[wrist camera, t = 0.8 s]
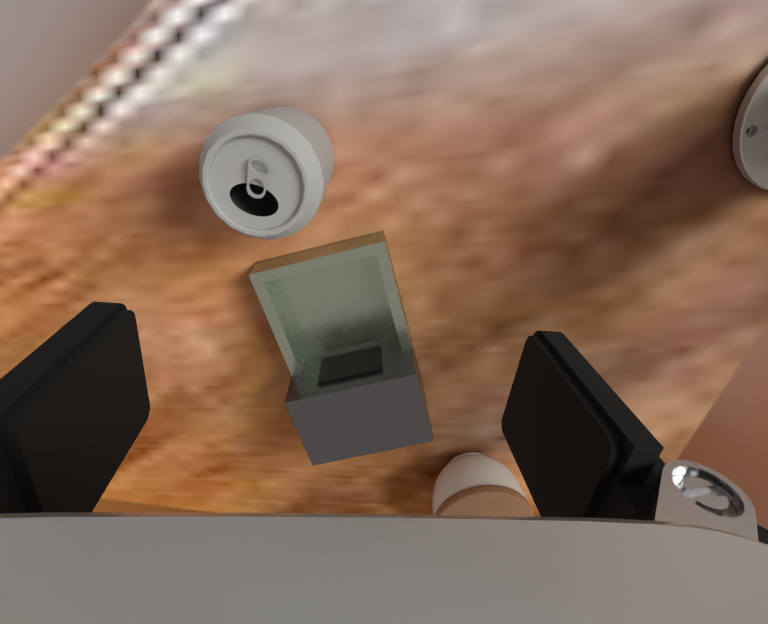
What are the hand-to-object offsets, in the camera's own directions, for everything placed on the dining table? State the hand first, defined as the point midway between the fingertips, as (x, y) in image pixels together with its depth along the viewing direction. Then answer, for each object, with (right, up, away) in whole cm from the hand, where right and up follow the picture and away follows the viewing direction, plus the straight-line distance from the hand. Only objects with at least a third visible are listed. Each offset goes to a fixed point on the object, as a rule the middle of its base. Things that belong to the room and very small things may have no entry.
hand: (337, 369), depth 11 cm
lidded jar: (+12, -18, +43) cm, 48 cm away
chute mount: (-2, -1, +33) cm, 33 cm away
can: (-7, +14, +25) cm, 30 cm away
